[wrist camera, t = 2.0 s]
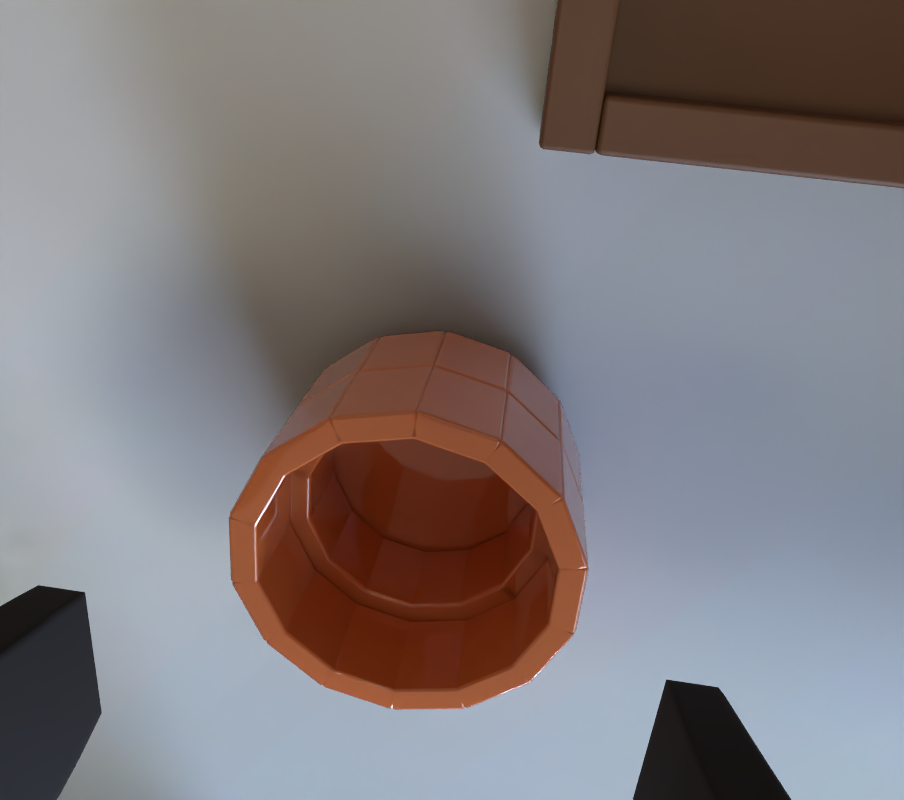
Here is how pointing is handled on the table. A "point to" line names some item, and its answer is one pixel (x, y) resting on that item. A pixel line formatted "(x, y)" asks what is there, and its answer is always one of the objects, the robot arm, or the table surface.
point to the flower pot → (416, 526)
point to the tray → (732, 85)
